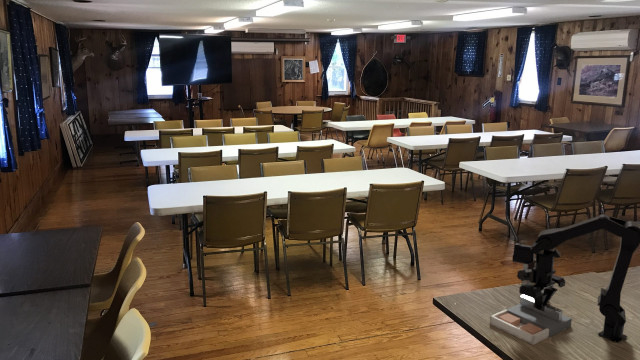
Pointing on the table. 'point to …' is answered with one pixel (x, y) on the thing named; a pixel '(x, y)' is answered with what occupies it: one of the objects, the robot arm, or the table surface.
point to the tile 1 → (510, 319)
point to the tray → (517, 329)
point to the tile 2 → (531, 328)
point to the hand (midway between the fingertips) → (540, 308)
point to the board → (539, 319)
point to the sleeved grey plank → (542, 308)
